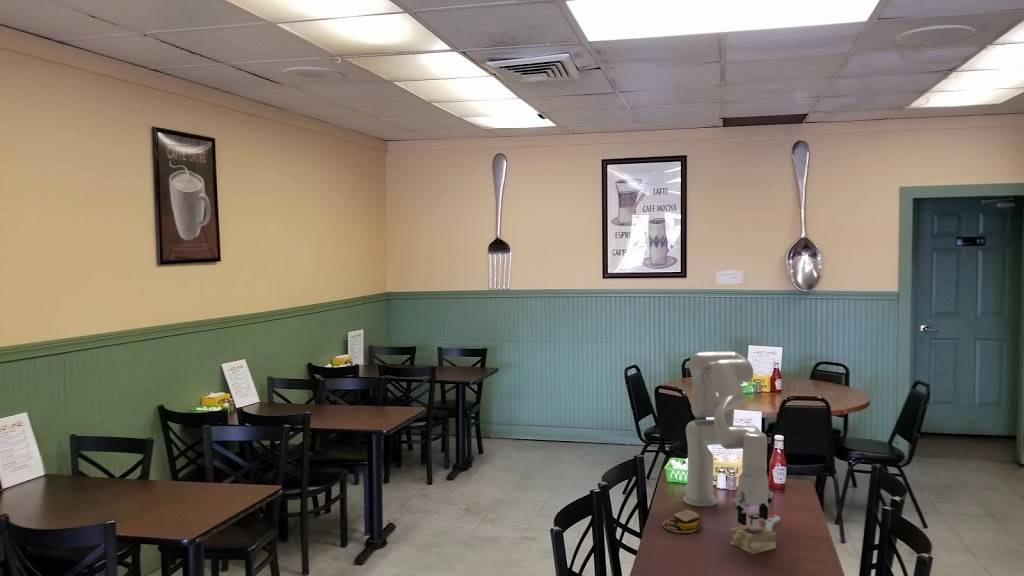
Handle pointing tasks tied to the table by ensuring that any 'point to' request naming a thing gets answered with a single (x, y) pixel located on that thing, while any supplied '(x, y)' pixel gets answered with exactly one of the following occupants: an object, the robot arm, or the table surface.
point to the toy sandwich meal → (683, 522)
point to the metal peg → (753, 523)
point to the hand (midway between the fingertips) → (752, 521)
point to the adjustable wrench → (771, 522)
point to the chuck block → (753, 539)
